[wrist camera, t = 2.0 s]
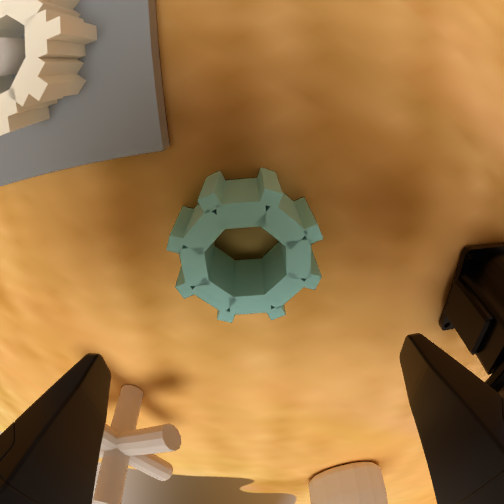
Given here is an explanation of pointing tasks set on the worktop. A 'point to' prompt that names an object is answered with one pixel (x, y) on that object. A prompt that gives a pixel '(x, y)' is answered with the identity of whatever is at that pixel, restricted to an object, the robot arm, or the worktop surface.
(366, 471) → the soap bottle
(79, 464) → the robot arm
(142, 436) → the pipe connector
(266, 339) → the worktop surface
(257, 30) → the worktop surface
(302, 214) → the teal gear
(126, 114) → the gear board
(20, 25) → the cream gear
